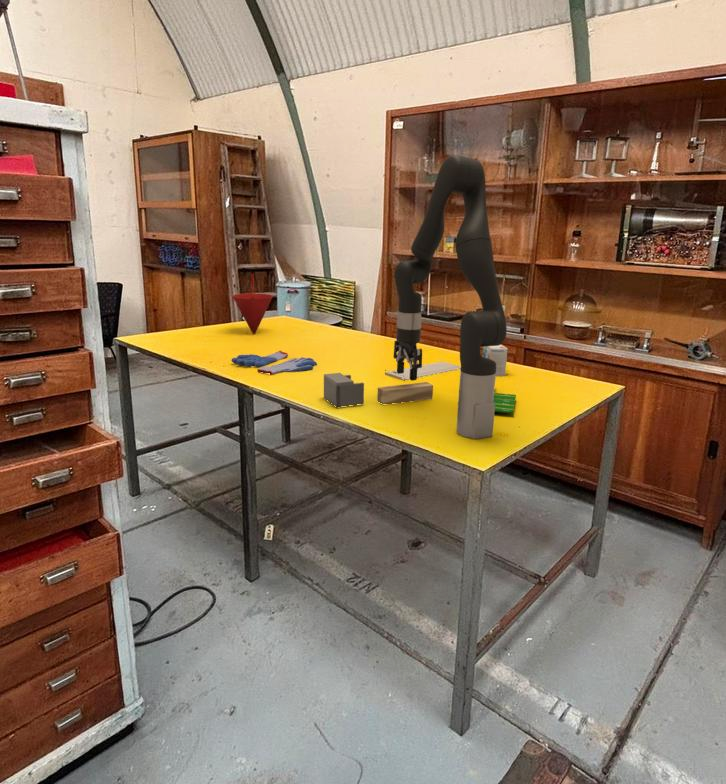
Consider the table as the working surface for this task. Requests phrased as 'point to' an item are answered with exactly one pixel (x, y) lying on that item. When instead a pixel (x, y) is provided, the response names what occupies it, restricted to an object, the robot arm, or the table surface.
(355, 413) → the table surface
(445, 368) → the baseboard molding
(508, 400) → the electronic board model
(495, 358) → the light bulb box
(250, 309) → the fire bucket
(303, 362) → the pair of gloves
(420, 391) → the slat
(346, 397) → the end cap
